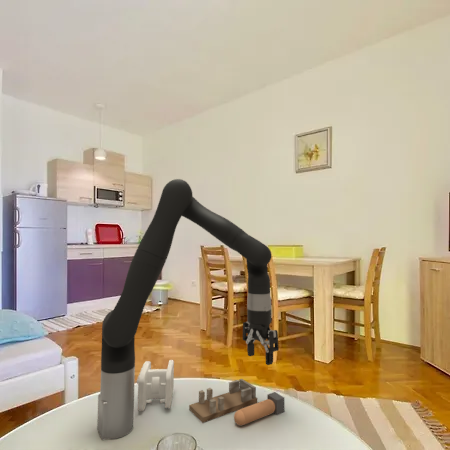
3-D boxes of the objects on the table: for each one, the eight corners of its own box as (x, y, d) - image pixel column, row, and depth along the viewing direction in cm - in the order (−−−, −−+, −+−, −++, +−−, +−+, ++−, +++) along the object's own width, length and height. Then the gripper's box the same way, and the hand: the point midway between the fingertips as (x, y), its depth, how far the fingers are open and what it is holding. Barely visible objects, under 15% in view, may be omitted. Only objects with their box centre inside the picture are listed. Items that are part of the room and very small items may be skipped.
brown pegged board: (202, 422, 91) (202, 405, 91) (189, 409, 98) (189, 393, 99) (257, 402, 103) (257, 387, 103) (241, 392, 110) (241, 377, 110)
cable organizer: (170, 414, 96) (171, 375, 96) (135, 415, 95) (136, 376, 95) (173, 391, 111) (174, 357, 111) (143, 392, 110) (144, 358, 110)
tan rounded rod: (239, 430, 88) (240, 414, 88) (230, 422, 91) (231, 407, 92) (284, 411, 98) (284, 397, 98) (274, 405, 101) (274, 391, 101)
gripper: (236, 304, 101) (236, 355, 100) (265, 313, 89) (266, 370, 88) (253, 302, 105) (254, 350, 104) (284, 309, 93) (285, 364, 93)
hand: (259, 359), depth 96 cm, fingers open, 8 cm apart
